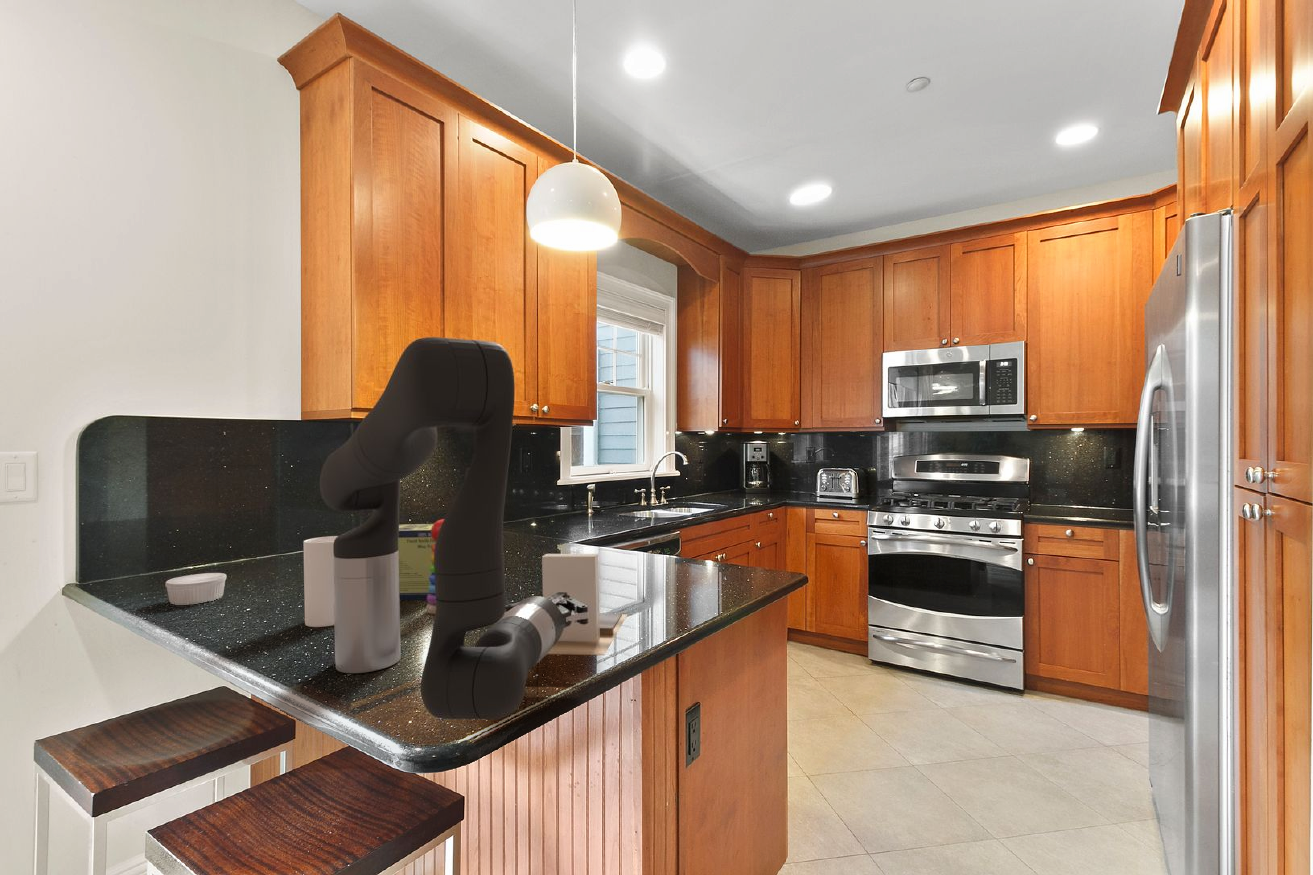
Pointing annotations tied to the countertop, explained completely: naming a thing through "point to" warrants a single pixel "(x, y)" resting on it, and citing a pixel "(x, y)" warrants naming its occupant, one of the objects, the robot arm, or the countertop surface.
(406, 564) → the protein box
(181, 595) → the ramekin
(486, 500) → the robot arm
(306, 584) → the cup
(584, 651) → the board
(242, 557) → the countertop surface
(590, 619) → the tile
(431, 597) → the stacking toy
